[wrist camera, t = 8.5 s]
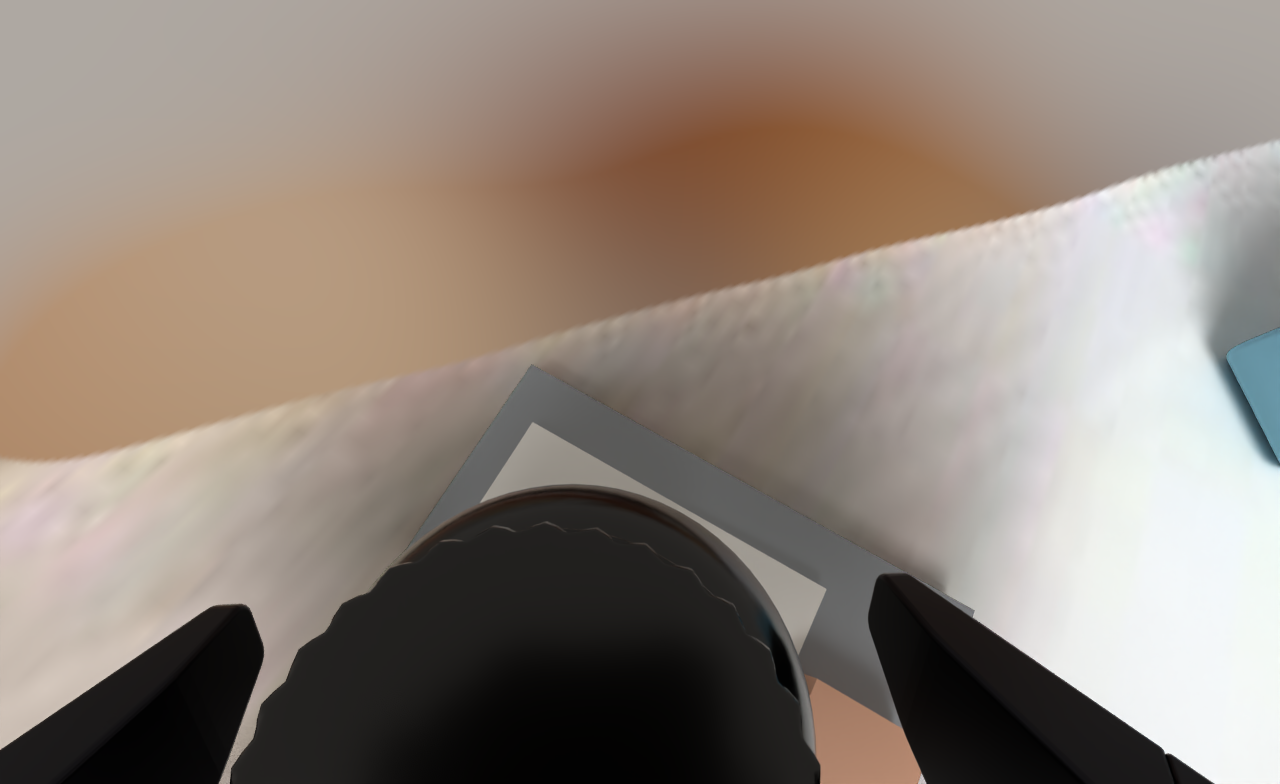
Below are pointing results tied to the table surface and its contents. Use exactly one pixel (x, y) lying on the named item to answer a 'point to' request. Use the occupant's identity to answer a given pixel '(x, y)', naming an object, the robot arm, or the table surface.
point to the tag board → (745, 522)
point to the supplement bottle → (547, 659)
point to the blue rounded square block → (1261, 380)
